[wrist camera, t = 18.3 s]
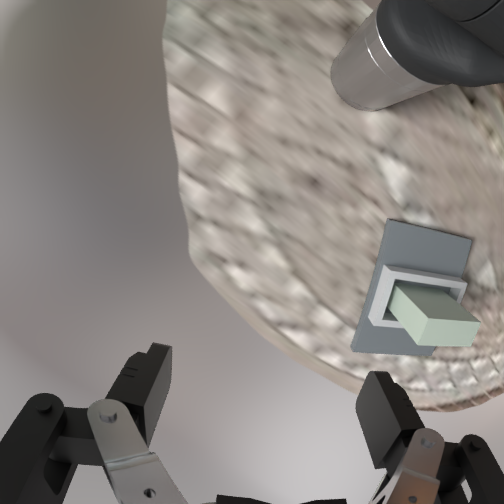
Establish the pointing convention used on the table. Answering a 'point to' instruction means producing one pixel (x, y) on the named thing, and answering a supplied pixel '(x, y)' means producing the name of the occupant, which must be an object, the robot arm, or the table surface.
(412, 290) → the pale green rectangular block
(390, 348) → the grey socket base
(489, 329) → the table surface
